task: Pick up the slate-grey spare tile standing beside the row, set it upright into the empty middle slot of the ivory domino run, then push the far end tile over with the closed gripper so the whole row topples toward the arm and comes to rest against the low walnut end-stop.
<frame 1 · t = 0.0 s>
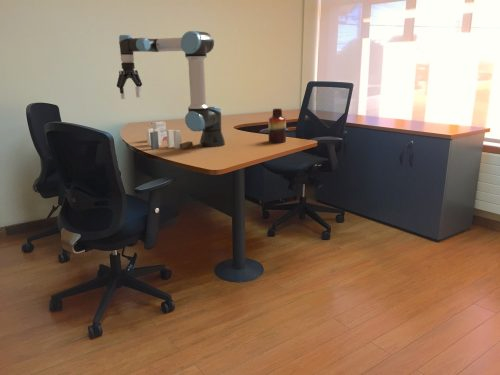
hand: (131, 98, 261), 28 cm above the table, fingers open, 13 cm apart
domino e: (151, 145, 261), on the table
domino a: (178, 147, 253), on the table
ink box: (159, 140, 276), on the table
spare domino: (155, 148, 249), on the table
brown bottle: (277, 142, 266), on the table
domino d: (157, 145, 259), on the table
domino b: (171, 146, 255), on the table
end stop: (186, 147, 250), on the table
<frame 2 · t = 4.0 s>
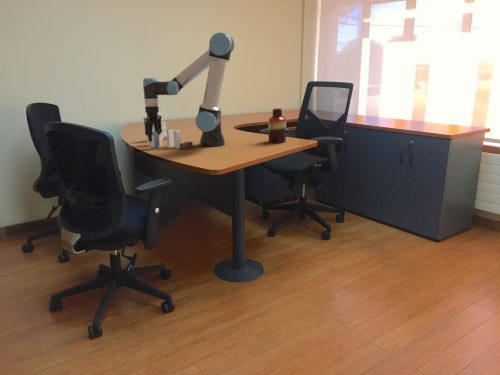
hand: (154, 145, 249), 2 cm above the table, fingers closed on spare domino, 5 cm apart
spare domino: (155, 148, 249), on the table, touching gripper
everything else where it was.
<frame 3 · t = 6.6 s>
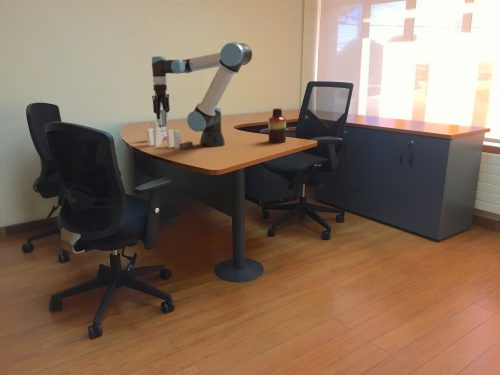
hand: (162, 123, 253), 14 cm above the table, fingers closed on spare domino, 5 cm apart
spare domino: (162, 126, 254), point 12 cm above the table, touching gripper
everything else where it was.
when the fingers open (3 cm above the table, at t = 9.1 s): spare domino stays where it is, on the table.
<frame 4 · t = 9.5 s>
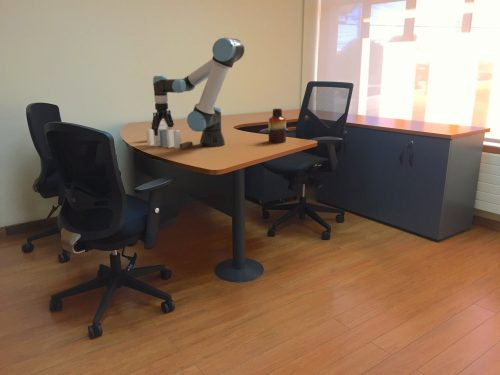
hand: (163, 139, 256), 4 cm above the table, fingers open, 11 cm apart
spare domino: (164, 146, 257), on the table
everything else where it was.
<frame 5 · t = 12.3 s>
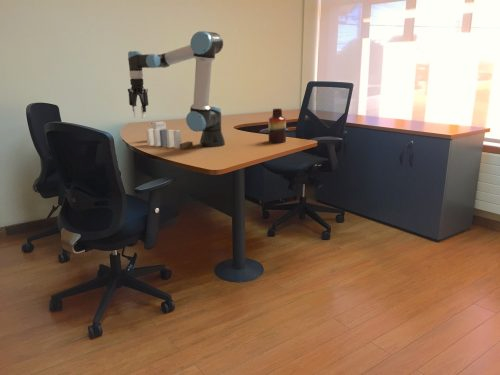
hand: (140, 117, 259), 17 cm above the table, fingers open, 5 cm apart
nothing on the table moved.
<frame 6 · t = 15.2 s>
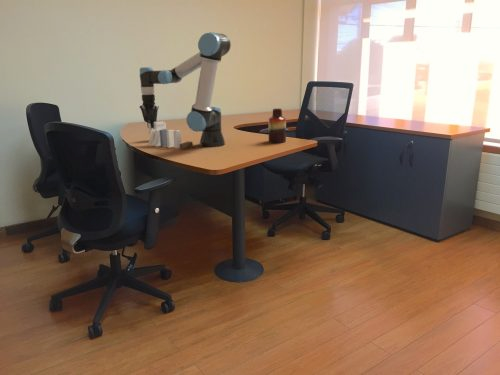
hand: (151, 133, 259), 7 cm above the table, fingers closed
domino e: (151, 144, 261), on the table, tilted 28°
domino d: (157, 145, 259), on the table, tilted 9°
everything else where it was.
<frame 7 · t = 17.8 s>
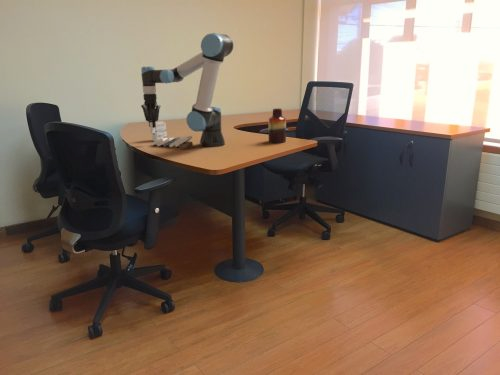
hand: (153, 132, 258), 8 cm above the table, fingers closed
domino e: (153, 143, 260), point 1 cm above the table, tilted 69°, touching domino d
domino a: (177, 145, 252), point 1 cm above the table, tilted 60°, touching domino b, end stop
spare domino: (165, 145, 256), point 1 cm above the table, tilted 64°, touching domino b, domino d
domino d: (159, 144, 258), point 1 cm above the table, tilted 66°, touching domino e, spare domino
domino b: (172, 145, 254), point 1 cm above the table, tilted 60°, touching domino a, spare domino
everything else where it was.
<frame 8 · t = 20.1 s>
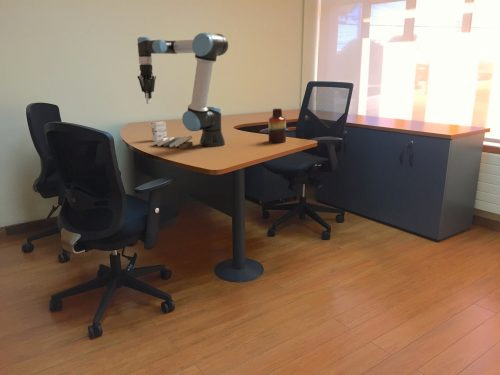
hand: (148, 103, 262), 24 cm above the table, fingers closed
at the end: domino a tilted 60°; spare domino tilted 63°; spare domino inside the target area (1.5 cm from its centre), point 0.7 cm above the table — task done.
